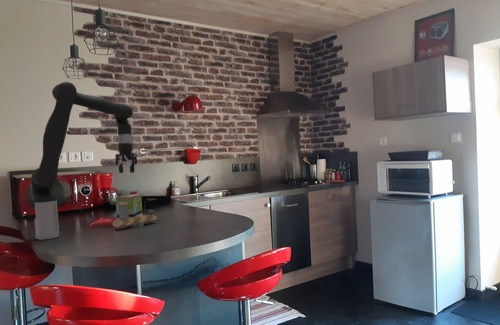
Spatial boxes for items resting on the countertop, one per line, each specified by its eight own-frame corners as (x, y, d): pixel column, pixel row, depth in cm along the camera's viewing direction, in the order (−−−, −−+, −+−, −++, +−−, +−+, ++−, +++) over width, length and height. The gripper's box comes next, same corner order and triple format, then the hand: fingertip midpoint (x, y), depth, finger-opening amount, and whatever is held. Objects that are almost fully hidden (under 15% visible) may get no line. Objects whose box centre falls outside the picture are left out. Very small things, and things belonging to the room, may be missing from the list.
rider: (123, 221, 194) (122, 203, 193) (119, 220, 196) (118, 203, 196) (129, 220, 196) (128, 202, 196) (125, 219, 199) (123, 202, 199)
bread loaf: (118, 231, 190) (117, 216, 190) (112, 229, 195) (111, 215, 195) (157, 223, 206) (156, 210, 206) (150, 222, 211) (149, 209, 211)
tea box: (135, 223, 210) (133, 196, 210) (116, 224, 211) (114, 197, 210) (143, 218, 226) (141, 193, 225) (125, 219, 226) (124, 194, 225)
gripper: (110, 143, 213) (112, 173, 213) (129, 142, 205) (130, 172, 205) (121, 143, 219) (123, 172, 219) (139, 142, 212) (141, 172, 212)
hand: (126, 172), depth 212 cm, fingers open, 8 cm apart
